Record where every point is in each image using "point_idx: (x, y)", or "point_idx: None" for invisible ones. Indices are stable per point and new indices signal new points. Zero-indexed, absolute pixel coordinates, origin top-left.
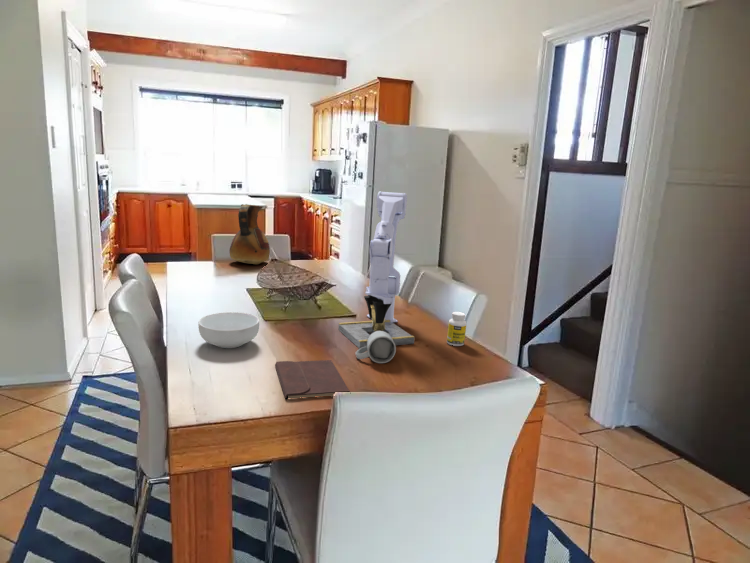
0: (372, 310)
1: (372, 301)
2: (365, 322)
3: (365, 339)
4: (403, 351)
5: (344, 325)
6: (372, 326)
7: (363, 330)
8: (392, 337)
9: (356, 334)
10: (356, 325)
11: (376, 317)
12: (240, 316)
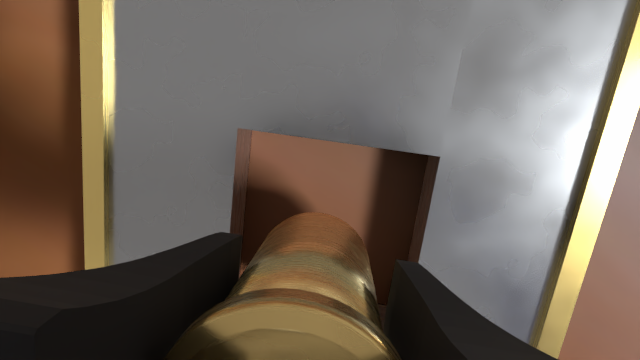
0: (290, 285)
1: (45, 319)
2: (556, 274)
3: (135, 24)
4: (8, 227)
5: (583, 35)
6: (332, 223)
7: (363, 138)
8: (104, 252)
9: (282, 13)
10: (524, 153)
11: (185, 245)
12: None
